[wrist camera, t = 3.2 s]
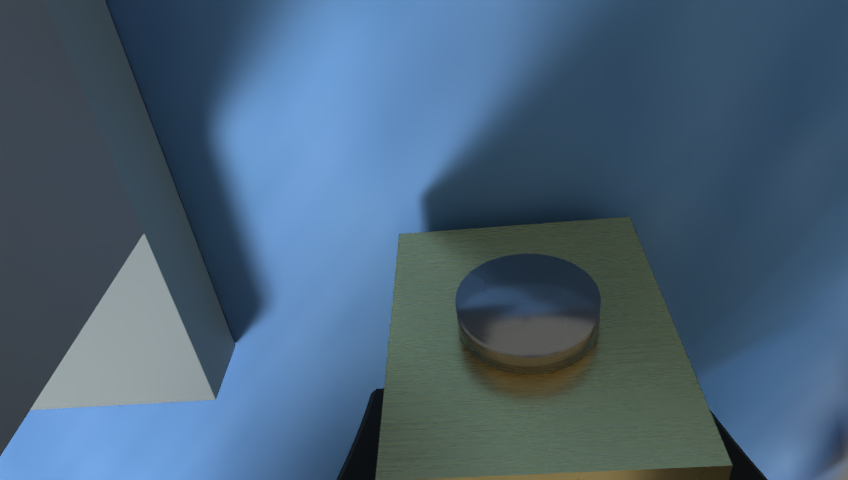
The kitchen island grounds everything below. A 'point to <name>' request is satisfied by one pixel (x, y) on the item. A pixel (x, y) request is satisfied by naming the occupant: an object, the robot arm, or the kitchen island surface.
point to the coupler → (539, 361)
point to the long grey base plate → (92, 230)
